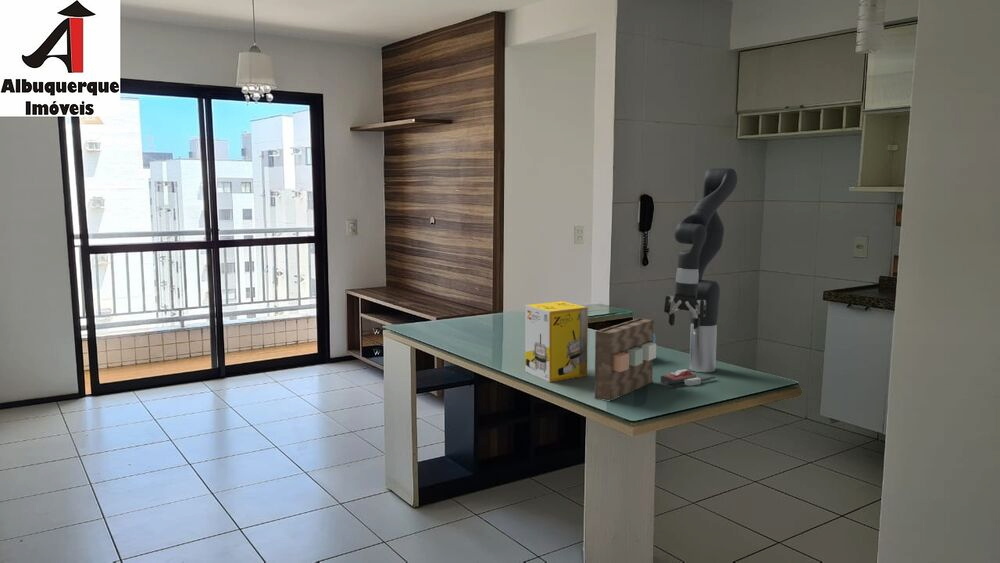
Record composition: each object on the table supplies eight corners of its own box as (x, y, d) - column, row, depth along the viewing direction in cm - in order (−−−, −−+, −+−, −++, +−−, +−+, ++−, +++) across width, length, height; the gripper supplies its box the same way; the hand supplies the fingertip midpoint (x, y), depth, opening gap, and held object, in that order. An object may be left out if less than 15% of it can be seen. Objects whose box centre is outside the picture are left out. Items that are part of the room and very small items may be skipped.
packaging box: (587, 375, 255) (587, 307, 252) (549, 382, 247) (549, 311, 244) (561, 365, 269) (561, 300, 266) (525, 371, 261) (524, 304, 258)
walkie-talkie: (674, 390, 238) (717, 381, 247) (674, 377, 237) (718, 369, 247) (656, 384, 245) (699, 375, 255) (656, 371, 245) (699, 363, 254)
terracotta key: (616, 366, 231) (617, 351, 230) (628, 368, 228) (629, 353, 227) (608, 369, 227) (608, 354, 227) (620, 372, 224) (621, 356, 224)
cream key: (644, 355, 245) (644, 341, 244) (655, 357, 242) (656, 343, 241) (636, 358, 241) (637, 344, 240) (648, 360, 238) (649, 346, 237)
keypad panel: (638, 379, 250) (639, 317, 247) (652, 382, 247) (653, 319, 243) (594, 398, 229) (595, 331, 226) (609, 401, 225) (610, 333, 222)
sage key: (630, 361, 238) (631, 346, 237) (642, 363, 235) (643, 348, 234) (623, 364, 234) (623, 349, 233) (635, 366, 231) (635, 351, 230)
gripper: (710, 282, 245) (707, 328, 248) (671, 278, 254) (668, 322, 256) (703, 284, 239) (699, 331, 242) (663, 279, 247) (660, 325, 250)
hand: (683, 327), depth 249 cm, fingers open, 8 cm apart
